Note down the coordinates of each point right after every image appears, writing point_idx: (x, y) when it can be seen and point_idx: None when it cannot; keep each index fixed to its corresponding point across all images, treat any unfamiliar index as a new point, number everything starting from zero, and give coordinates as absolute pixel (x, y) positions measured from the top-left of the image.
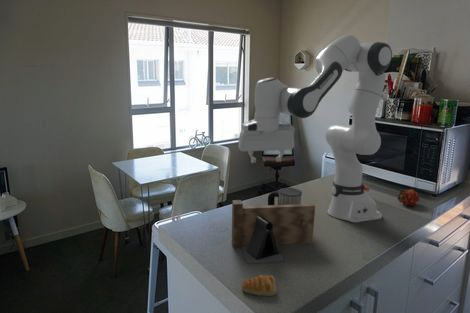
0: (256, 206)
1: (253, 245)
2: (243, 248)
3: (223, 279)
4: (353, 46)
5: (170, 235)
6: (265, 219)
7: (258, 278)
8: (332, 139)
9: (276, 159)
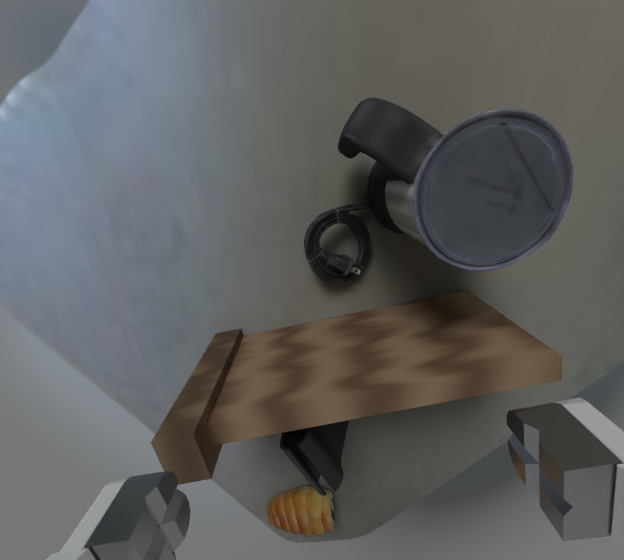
0: (276, 416)
1: None
2: None
3: (226, 483)
4: None
5: (7, 307)
6: (316, 468)
7: (299, 524)
8: None
9: (525, 441)
